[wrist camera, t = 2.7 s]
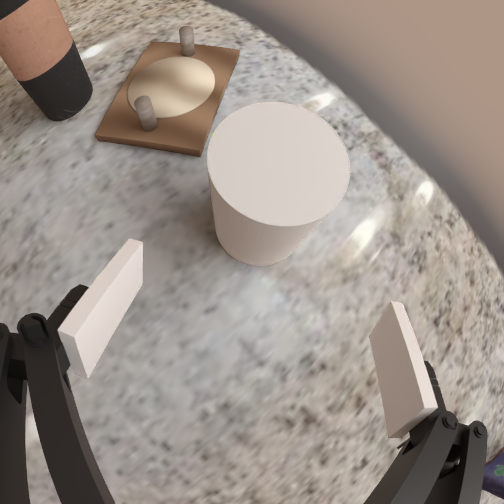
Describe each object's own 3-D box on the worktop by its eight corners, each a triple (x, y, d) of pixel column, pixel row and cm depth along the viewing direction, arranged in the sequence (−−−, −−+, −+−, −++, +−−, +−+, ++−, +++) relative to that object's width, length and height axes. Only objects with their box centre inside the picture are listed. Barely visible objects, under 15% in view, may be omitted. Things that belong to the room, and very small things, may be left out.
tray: (200, 156, 29) (196, 126, 24) (98, 140, 28) (81, 113, 23) (239, 56, 32) (241, 26, 27) (152, 47, 32) (146, 19, 27)
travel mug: (45, 94, 30) (-16, -7, 10) (93, 70, 31) (47, -45, 11) (44, 132, 28) (-38, 24, 9) (97, 107, 29) (35, -24, 10)
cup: (275, 169, 29) (301, 88, 18) (318, 240, 28) (375, 189, 16) (199, 204, 28) (183, 130, 16) (241, 282, 27) (252, 254, 15)
